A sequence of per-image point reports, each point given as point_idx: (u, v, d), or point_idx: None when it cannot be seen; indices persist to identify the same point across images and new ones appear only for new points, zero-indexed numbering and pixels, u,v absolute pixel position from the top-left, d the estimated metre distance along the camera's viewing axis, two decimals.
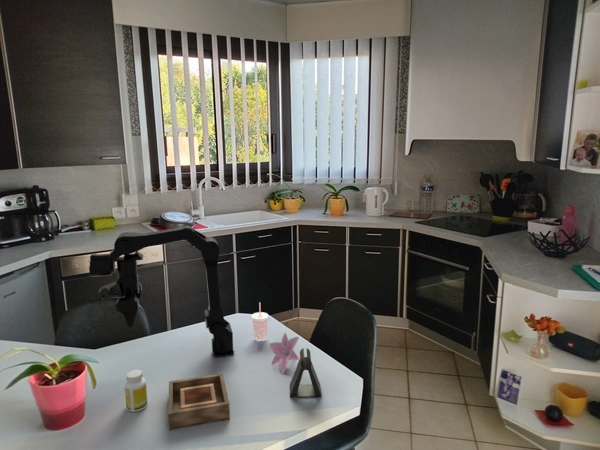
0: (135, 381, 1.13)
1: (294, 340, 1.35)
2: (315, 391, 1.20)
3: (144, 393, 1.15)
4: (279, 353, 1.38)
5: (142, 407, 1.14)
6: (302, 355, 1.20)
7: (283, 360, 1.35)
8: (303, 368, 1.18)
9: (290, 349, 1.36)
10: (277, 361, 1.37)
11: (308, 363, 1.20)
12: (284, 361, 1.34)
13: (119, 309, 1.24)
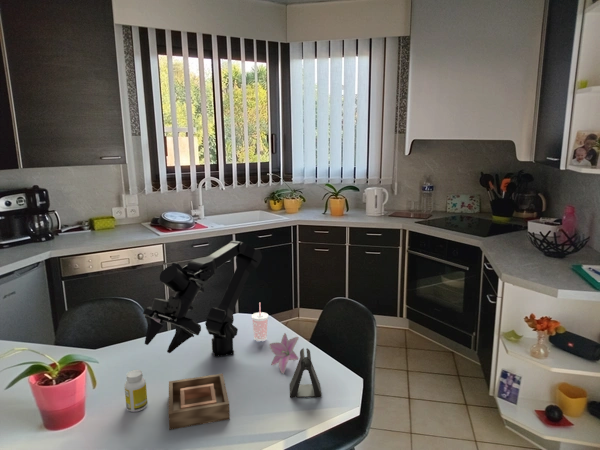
0: (135, 381, 1.13)
1: (294, 340, 1.35)
2: (315, 391, 1.20)
3: (144, 393, 1.15)
4: (279, 353, 1.38)
5: (142, 407, 1.14)
6: (302, 355, 1.20)
7: (283, 360, 1.35)
8: (303, 368, 1.18)
9: (290, 349, 1.36)
10: (277, 361, 1.37)
11: (308, 363, 1.20)
12: (284, 361, 1.34)
13: (190, 327, 1.18)
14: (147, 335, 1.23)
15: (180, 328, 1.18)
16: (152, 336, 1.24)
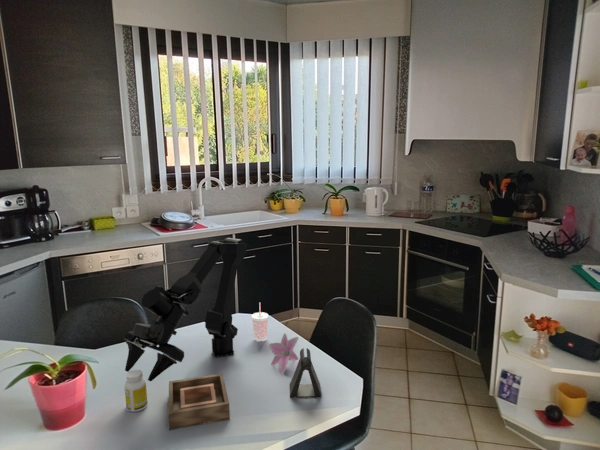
0: (135, 381, 1.13)
1: (293, 341, 1.35)
2: (315, 391, 1.20)
3: (144, 393, 1.15)
4: (279, 353, 1.38)
5: (142, 407, 1.14)
6: (302, 355, 1.20)
7: (283, 360, 1.35)
8: (303, 368, 1.18)
9: (290, 349, 1.35)
10: (277, 361, 1.36)
11: (308, 363, 1.20)
12: (284, 361, 1.34)
13: (172, 354, 1.13)
14: (128, 361, 1.18)
15: (162, 355, 1.13)
16: (133, 362, 1.19)
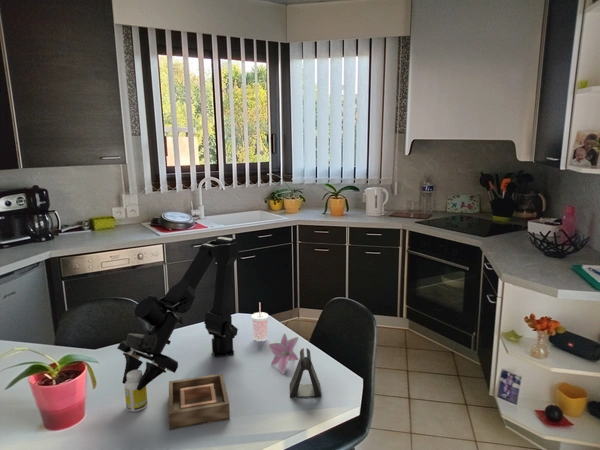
0: (135, 381, 1.13)
1: (293, 341, 1.35)
2: (315, 391, 1.20)
3: (144, 393, 1.15)
4: (279, 354, 1.37)
5: (142, 407, 1.14)
6: (302, 355, 1.20)
7: (283, 361, 1.35)
8: (303, 368, 1.18)
9: (290, 350, 1.35)
10: (277, 362, 1.36)
11: (308, 363, 1.20)
12: (284, 362, 1.34)
13: (166, 365, 1.11)
14: (125, 374, 1.16)
15: (150, 364, 1.12)
16: None
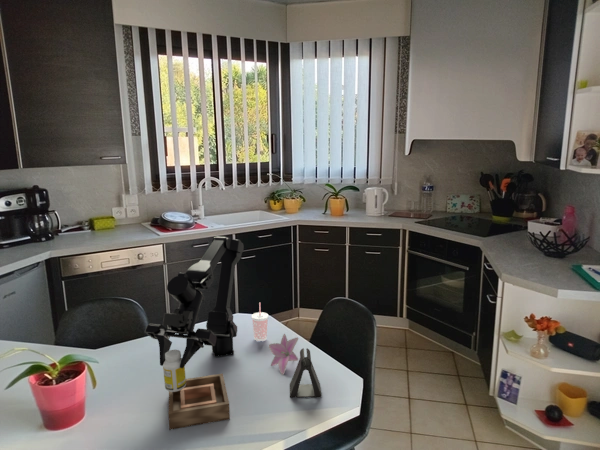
0: (176, 360, 1.11)
1: (293, 341, 1.35)
2: (315, 391, 1.20)
3: (184, 371, 1.13)
4: (278, 354, 1.37)
5: (183, 385, 1.13)
6: (302, 355, 1.20)
7: (282, 361, 1.35)
8: (303, 368, 1.18)
9: (290, 350, 1.35)
10: (276, 362, 1.36)
11: (308, 363, 1.20)
12: (284, 362, 1.34)
13: (209, 338, 1.12)
14: (161, 355, 1.12)
15: (193, 340, 1.11)
16: None
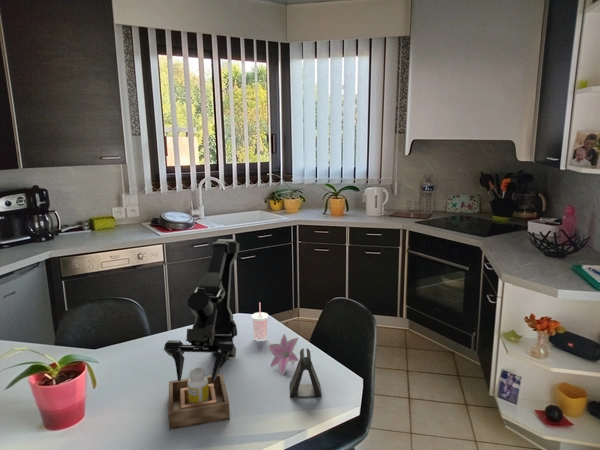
0: (202, 378, 1.13)
1: (293, 342, 1.35)
2: (315, 391, 1.20)
3: None
4: (278, 355, 1.37)
5: None
6: (302, 355, 1.20)
7: (282, 361, 1.34)
8: (303, 368, 1.18)
9: (289, 350, 1.35)
10: (276, 363, 1.36)
11: (308, 363, 1.20)
12: (284, 363, 1.33)
13: (233, 350, 1.15)
14: (178, 371, 1.13)
15: (223, 353, 1.14)
16: (181, 371, 1.15)
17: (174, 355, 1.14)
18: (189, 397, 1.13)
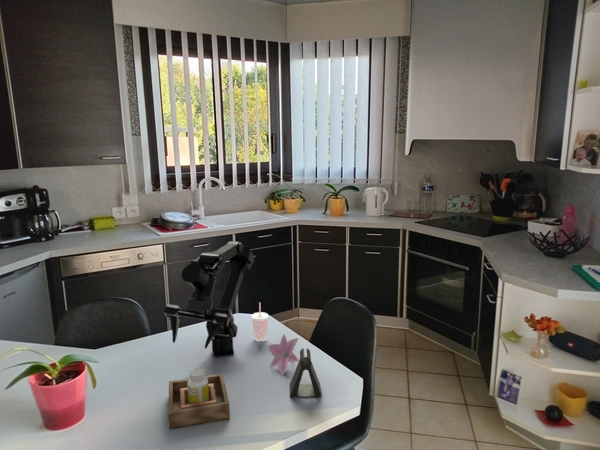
0: (202, 378, 1.13)
1: (293, 342, 1.34)
2: (315, 391, 1.20)
3: None
4: (278, 355, 1.37)
5: None
6: (302, 355, 1.20)
7: (282, 362, 1.34)
8: (303, 368, 1.18)
9: (289, 351, 1.35)
10: (276, 363, 1.35)
11: (308, 363, 1.20)
12: (284, 363, 1.33)
13: (227, 322, 1.24)
14: (174, 333, 1.23)
15: (218, 325, 1.23)
16: (176, 333, 1.24)
17: (172, 319, 1.23)
18: (189, 397, 1.13)
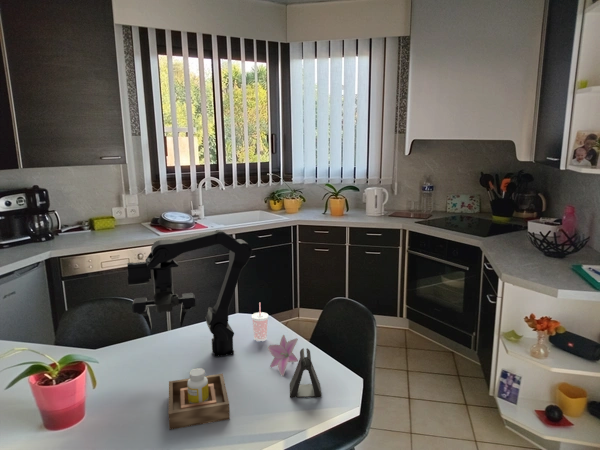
0: (202, 378, 1.13)
1: (293, 342, 1.34)
2: (315, 391, 1.20)
3: None
4: (278, 355, 1.36)
5: None
6: (302, 355, 1.20)
7: (282, 362, 1.34)
8: (303, 368, 1.18)
9: (289, 351, 1.34)
10: (276, 364, 1.35)
11: (308, 363, 1.20)
12: (284, 363, 1.33)
13: None
14: (149, 323, 1.34)
15: (188, 309, 1.34)
16: (150, 320, 1.35)
17: (143, 315, 1.31)
18: (189, 397, 1.13)
